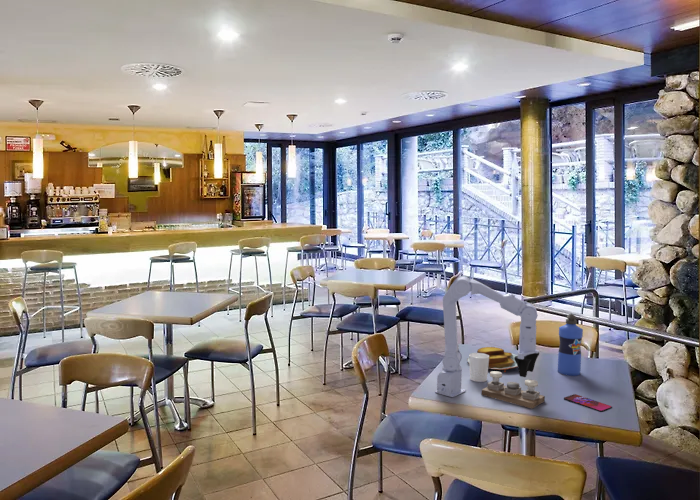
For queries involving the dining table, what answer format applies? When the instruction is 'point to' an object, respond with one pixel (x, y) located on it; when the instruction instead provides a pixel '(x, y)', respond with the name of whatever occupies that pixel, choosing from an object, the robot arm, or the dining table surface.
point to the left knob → (496, 375)
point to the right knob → (531, 384)
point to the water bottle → (570, 347)
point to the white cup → (478, 366)
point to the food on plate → (498, 358)
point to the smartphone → (587, 402)
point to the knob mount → (513, 394)
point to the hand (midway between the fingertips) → (526, 373)
